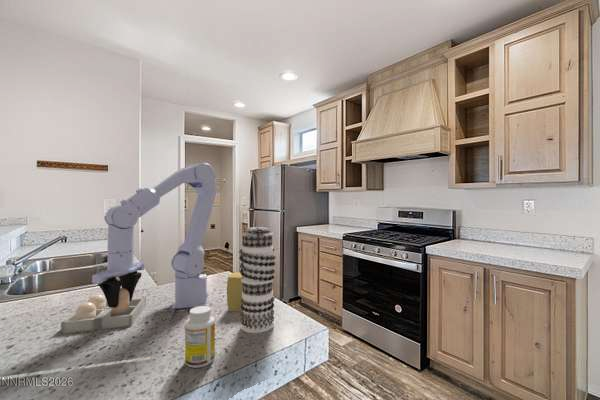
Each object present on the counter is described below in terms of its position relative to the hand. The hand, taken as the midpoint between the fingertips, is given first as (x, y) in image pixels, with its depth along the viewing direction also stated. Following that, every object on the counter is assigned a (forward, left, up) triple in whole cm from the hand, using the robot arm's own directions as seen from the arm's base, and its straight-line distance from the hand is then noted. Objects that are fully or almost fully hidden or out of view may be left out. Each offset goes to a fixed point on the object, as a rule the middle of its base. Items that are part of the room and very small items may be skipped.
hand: (120, 303), depth 72 cm
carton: (+4, -3, -5) cm, 7 cm away
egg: (0, 0, -2) cm, 2 cm away
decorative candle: (-34, +11, -5) cm, 36 cm away
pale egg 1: (+8, 0, -5) cm, 9 cm away
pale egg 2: (+8, -6, -5) cm, 11 cm away
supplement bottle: (-21, +24, -5) cm, 32 cm away
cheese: (-33, -4, -5) cm, 34 cm away
